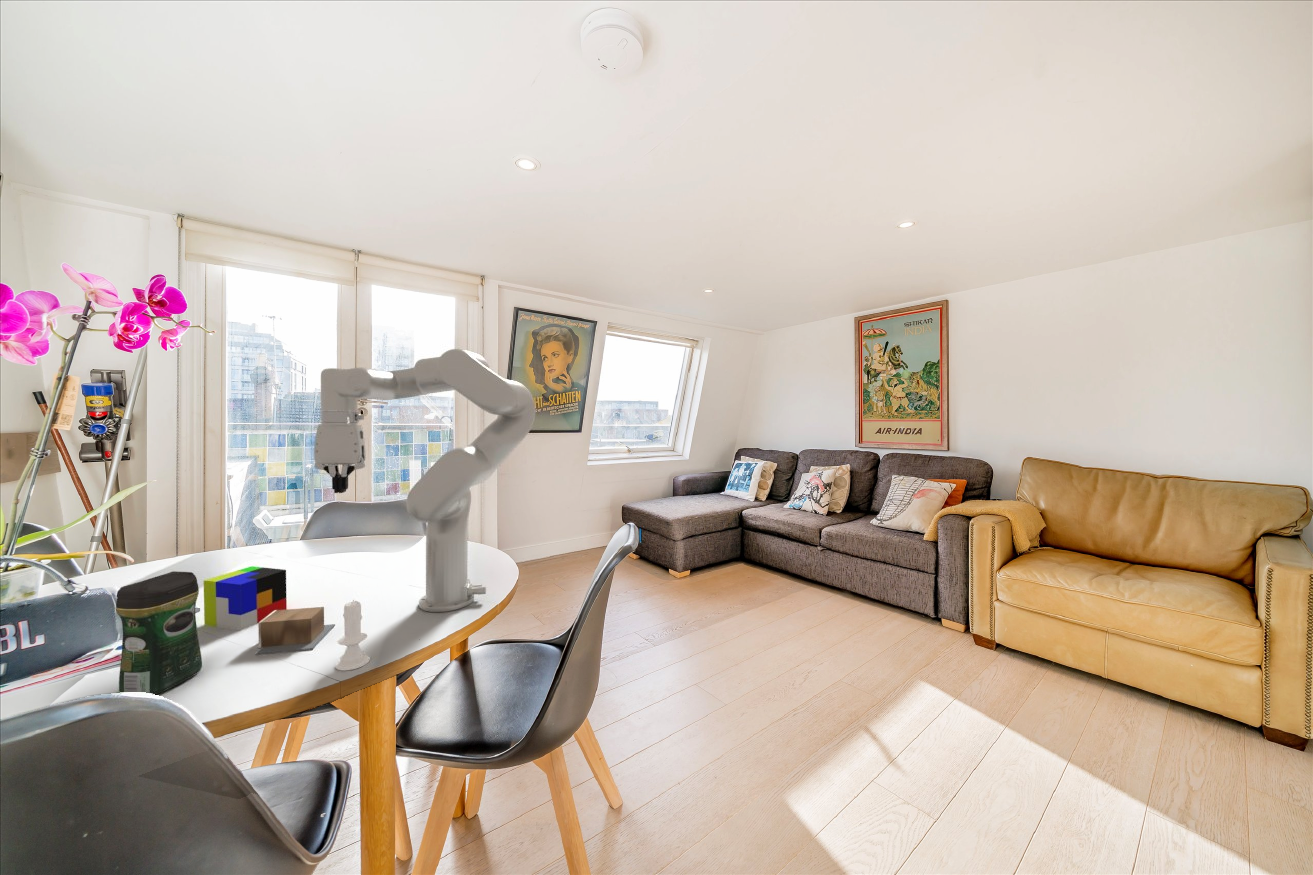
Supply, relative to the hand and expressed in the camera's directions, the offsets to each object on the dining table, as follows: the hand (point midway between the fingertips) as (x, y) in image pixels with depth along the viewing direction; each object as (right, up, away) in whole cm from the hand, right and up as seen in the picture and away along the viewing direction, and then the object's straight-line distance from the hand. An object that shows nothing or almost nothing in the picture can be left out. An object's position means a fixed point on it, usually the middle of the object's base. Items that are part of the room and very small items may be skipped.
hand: (340, 492), depth 117 cm
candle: (+22, -29, -29) cm, 47 cm away
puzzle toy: (-14, -28, -11) cm, 33 cm away
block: (0, -25, -22) cm, 33 cm away
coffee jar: (-6, -29, -37) cm, 47 cm away
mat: (+5, -28, -20) cm, 35 cm away
